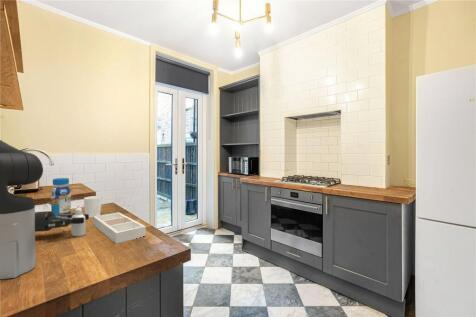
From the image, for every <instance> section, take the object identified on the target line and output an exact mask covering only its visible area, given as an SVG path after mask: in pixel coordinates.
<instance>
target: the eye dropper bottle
mask: <svg viewBox="0 0 476 317" xmlns="http://www.w3.org/2000/svg"><path fill="white" fill-rule="evenodd" d="M74 213H75V215H73V216H72V219H73V218H82V217H83V218H84V223H81V224H72V225H71V235H72V236H73V237H83V236H85V235H86V230H87V229H86V228H87V227H86V221H87V220H85V216H84V215H83V208H82V207H80V205H77V206H76V208H75V209H74Z"/></svg>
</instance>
